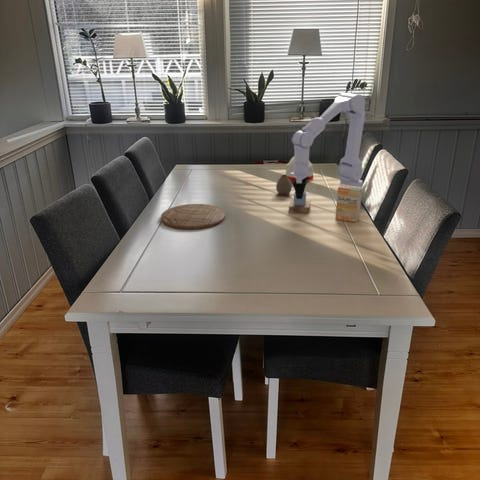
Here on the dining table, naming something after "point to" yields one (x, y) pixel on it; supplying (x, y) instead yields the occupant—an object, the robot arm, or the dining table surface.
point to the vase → (284, 185)
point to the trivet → (193, 216)
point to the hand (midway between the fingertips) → (300, 195)
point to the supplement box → (348, 203)
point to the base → (299, 207)
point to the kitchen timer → (291, 169)
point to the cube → (300, 201)
